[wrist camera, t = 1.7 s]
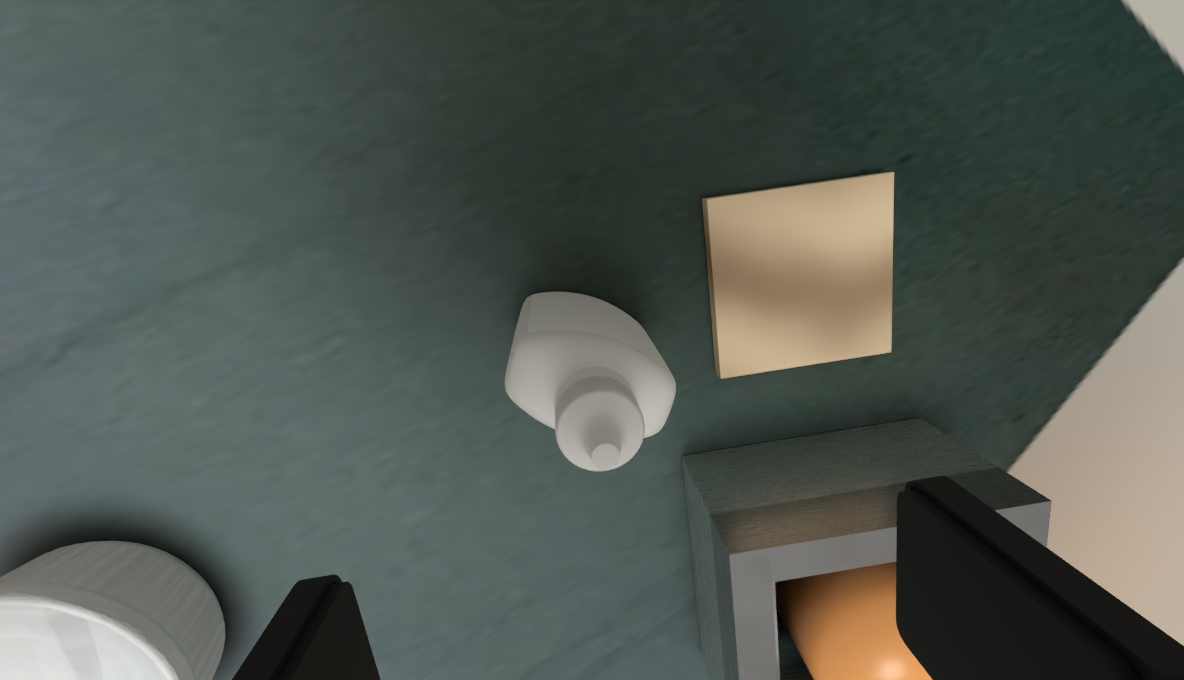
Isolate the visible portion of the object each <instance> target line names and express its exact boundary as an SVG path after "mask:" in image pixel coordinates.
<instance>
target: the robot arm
mask: <svg viewBox="0 0 1184 680" xmlns="http://www.w3.org/2000/svg"><path fill="white" fill-rule="evenodd" d="M896 624H897V628H898V631H899V634H900V636H901V638H902V640H903V642H904V643H905V645H906V646H907V647H908V649H909V650H910V651H911V653H912V654H913V655H914V656H915V658H916V659H917V660H918V662H919V663H920V664H921V665H922V667H923V668H924V669H925V670H926V672H927V673H928V674H929V676H930V677H931V678H932V679H933V680H1184V646H1183V645H1181V644H1180V643H1178V642H1177V641H1176V640H1174V639H1173V638H1172V637H1170V636H1169V635H1167V634H1166V633H1165V632H1163V631H1162V630H1160V629H1159V628H1158V627H1156V626H1155V625H1153V624H1152V623H1151V622H1149V621H1148V620H1146V619H1145V618H1144V617H1142V616H1141V615H1139V614H1138V613H1137V612H1135V611H1134V610H1133V609H1131V608H1130V607H1128V606H1127V605H1126V604H1124V603H1123V602H1121V601H1120V600H1119V599H1117V598H1116V597H1114V596H1113V595H1112V594H1110V593H1109V592H1108V591H1106V590H1105V589H1103V588H1102V587H1101V586H1099V585H1098V584H1096V583H1095V582H1094V581H1092V580H1091V579H1089V578H1088V577H1087V576H1085V575H1084V574H1082V573H1081V572H1079V571H1078V570H1077V569H1075V568H1074V567H1073V566H1071V565H1070V564H1069V563H1067V562H1066V561H1064V560H1063V559H1062V558H1060V557H1059V556H1057V555H1056V554H1054V553H1053V552H1052V551H1050V550H1049V549H1048V548H1046V547H1045V546H1044V545H1042V544H1041V543H1039V542H1038V541H1037V540H1035V539H1034V538H1032V537H1031V536H1030V535H1028V534H1027V533H1025V532H1024V531H1023V530H1021V529H1020V528H1018V527H1017V526H1016V525H1014V524H1013V523H1012V522H1010V521H1009V520H1007V519H1006V518H1005V517H1003V516H1002V515H1000V514H999V513H998V512H996V511H995V510H993V509H992V508H991V507H989V506H988V505H986V504H985V503H984V502H982V501H981V500H980V499H978V498H977V497H975V496H974V495H973V494H971V493H970V492H968V491H967V490H966V489H964V488H963V487H961V486H960V485H959V484H957V483H956V482H954V481H953V480H952V479H950V478H948V477H946V476H936V477H930V478H924V479H918V480H912V481H909V482H908V483H907V484H906V486H905V490H904V491H901V492H899V494H898V496H897V543H896ZM232 680H380V677H379V674H378V670H377V667H376V664H375V660H374V657H373V654H372V650H371V647H370V644H369V640H368V637H367V634H366V630H365V627H364V624H363V620H362V617H361V614H360V610H359V607H358V604H357V600H356V597H355V594H354V590H353V588H352V585H351V584H350V583H349V582H342V581H341V579H340V578H339V577H338V576H337V575H328V576H322V577H316V578H310V579H304V580H300V581H298V582H297V583H296V584H295V585H294V586H293V588H292V589H291V591H290V592H289V594H288V595H287V597H286V599H285V600H284V602H283V603H282V605H281V606H280V608H279V609H278V611H277V612H276V614H275V615H274V617H273V618H272V620H271V621H270V623H269V624H268V626H267V627H266V629H265V630H264V632H263V633H262V635H261V637H260V638H259V640H258V641H257V643H256V644H255V646H254V647H253V649H252V650H251V652H250V653H249V655H248V656H247V658H246V659H245V661H244V662H243V664H242V665H241V667H240V668H239V670H238V672H237V673H236V675H235V676H234V678H233V679H232Z"/></svg>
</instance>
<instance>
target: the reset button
mask: <svg viewBox="0 0 1184 680" xmlns="http://www.w3.org/2000/svg"><path fill="white" fill-rule="evenodd" d="M775 593H776V607H777V610H778V613H779V615H780V617H781V619H782V621H783V623H784V624H785V626H786V628H787V630H788V632H789V634H790V636H791V638H792V639H793V641H794V643H795V645H796V647H797V649H798V651H799V653H800V654H801V656H802V658H803V660H804V662H805V664H806V666H807V668H808V669H809V671H810V673H811V675H812V677H813V679H814V680H933V679H932V678H931V677H930V676H929V674H928V673H927V672H926V670H925V669H924V668H923V667H922V665H921V664H920V663H919V662H918V660H917V659H916V658H915V656H914V655H913V654H912V653H911V651H910V650H909V649H908V647H907V646H906V645H905V643H904V642H903V640H902V638H901V636H900V634H899V631H898V628H897V624H896V562H891V563H885V564H879V565H873V566H867V567H861V568H855V569H849V570H843V571H837V572H831V573H825V574H820V575H814V576H808V577H802V578H796V579H790V580H784V581H778V582H777V584H776V589H775Z"/></svg>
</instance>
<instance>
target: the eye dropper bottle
mask: <svg viewBox="0 0 1184 680" xmlns="http://www.w3.org/2000/svg"><path fill="white" fill-rule="evenodd" d="M505 390H506V392H507V394H508V396H509V397H510V399H511V400H512V401H513V402H514V403H516V404H517V405H518V406H519V407H520V408H521V409H523V410H524V411H525V412H526V413H528V414H529V415H531V416H532V417H533V418H535V419H537V420H538V421H540V422H541V423H543V424H545V425H547V426H549V427H551V428H553V429H555V434H556V439H557V443H558V447H560V451H562V452H563V455H565V458H568V460H569V461H571V462H572V463H573V464H576V466H579V467H580V468H583V469H587V470H588V471H589V470H592V471H597V472H598V471H604V470H605V471H607V470H612V469H616V468H617V467H620V466H621V465H624V463H626V462H628V460H631V457H633V456H634V454H636V453H637V450H639V447H640V446H641V443H642V442H643V438H646V437H649V436H652V435H654V434H656V433H658V432H659V431H660V430H661V429H662V427H663V426H664V424H665V422H666V420H667V417H668V415H669V412H670V410H671V407H672V404H673V401H674V397H675V394H676V383H675V380H674V378H673V376H672V374H671V372H670V370H669V369H668V367H667V365H666V363H665V362H664V360H663V358H662V357H661V355H660V354H659V352H658V350H657V349H656V347H655V346H654V344H653V343H652V341H651V339H650V338H649V336H648V335H647V333H646V332H645V330H644V329H643V327H642V326H641V325H640V324H639V323H638V322H637V321H636V320H635V319H633V318H632V317H631V316H630V315H628V314H627V313H625V312H624V311H622V310H621V309H619V308H617V307H616V306H614V305H612V304H610V303H608V302H605V301H603V300H600V299H598V298H595V297H592V296H588V295H584V294H579V293H572V292H542V293H536V294H533V295H531V296H529V297H527V298H526V300H525V301H524V303H523V306H522V309H521V312H520V315H519V319H518V322H517V326H516V330H515V334H514V339H513V343H512V347H511V351H510V356H509V360H508V365H507V369H506V375H505Z"/></svg>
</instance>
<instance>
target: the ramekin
mask: <svg viewBox="0 0 1184 680" xmlns="http://www.w3.org/2000/svg"><path fill="white" fill-rule="evenodd" d="M225 638H226V635H225V622H224V619H223V613H222V611H221V608H220V605H219V602H218V600H217V598H216V596H215V594H214V592H213V591H212V589H211V588H210V586H209V585H208V584H207V582H206V581H205V580H204V579H203V578H202V577H201V576H200V575H199V574H198V573H197V572H196V571H195V570H194V569H192V568H191V567H190V566H189V565H187V564H186V563H185V562H183V561H181V560H180V559H178V558H176V557H175V556H173V555H171V554H169V553H167V552H165V551H162V550H160V549H157V548H154V547H151V546H147V545H143V544H139V543H133V542H125V541H98V542H86V543H79V544H73V545H70V546H65V547H60V548H58V549H55V550H53V551H51V552H48V553H45V554H43V555H41V556H39V557H37V558H35V559H33V560H31V561H29V562H28V563H26V564H24V565H22V566H20V567H18V568H16V569H15V570H13V571H11V572H9V573H7V574H5V575H3V576H1V577H0V680H212V679H213V676H214V674H215V672H216V670H217V667H218V665H219V663H220V660H221V656H222V653H223V650H224V642H225Z"/></svg>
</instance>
